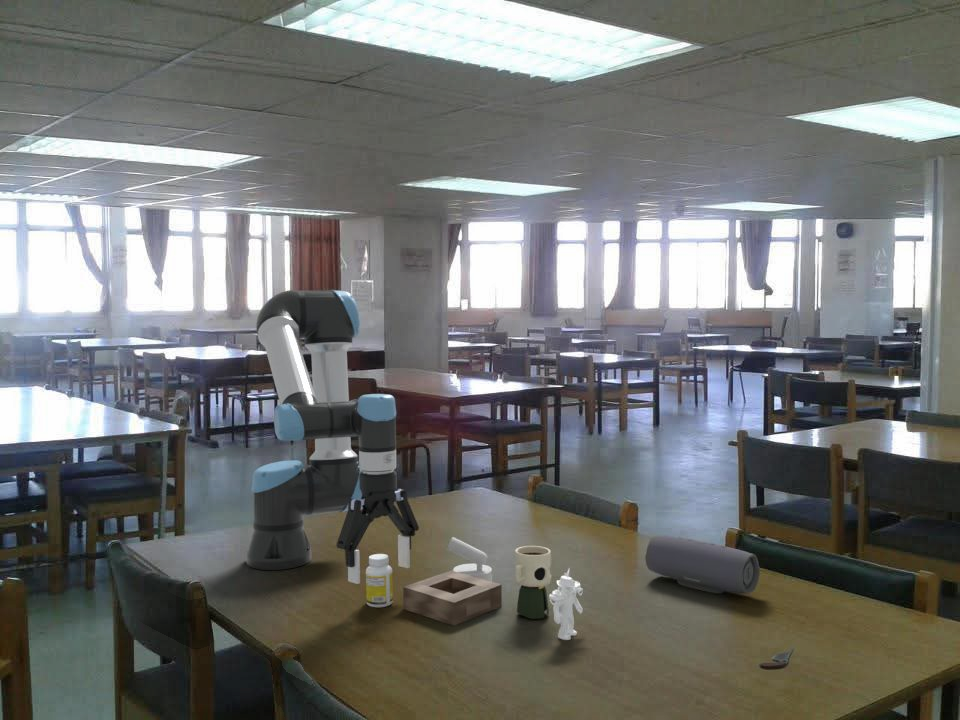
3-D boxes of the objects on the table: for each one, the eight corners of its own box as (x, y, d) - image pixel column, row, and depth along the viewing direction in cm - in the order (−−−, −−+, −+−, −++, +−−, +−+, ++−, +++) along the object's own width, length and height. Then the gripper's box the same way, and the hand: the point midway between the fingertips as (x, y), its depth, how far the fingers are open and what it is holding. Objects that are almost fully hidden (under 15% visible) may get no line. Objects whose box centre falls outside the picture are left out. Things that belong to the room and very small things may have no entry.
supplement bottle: (381, 597, 181) (381, 551, 180) (398, 603, 177) (397, 556, 176) (360, 603, 177) (360, 556, 176) (377, 610, 173) (376, 562, 173)
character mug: (532, 628, 163) (532, 560, 163) (501, 619, 168) (501, 553, 167) (563, 611, 172) (563, 547, 171) (533, 604, 176) (533, 541, 175)
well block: (403, 608, 174) (403, 586, 174) (451, 591, 184) (451, 570, 184) (454, 625, 165) (454, 602, 164) (501, 606, 175) (501, 584, 175)
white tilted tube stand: (451, 531, 196) (495, 534, 194) (451, 573, 197) (495, 575, 195) (442, 542, 188) (487, 544, 186) (442, 585, 188) (487, 588, 186)
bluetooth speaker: (760, 593, 182) (761, 547, 181) (740, 605, 175) (741, 557, 175) (666, 571, 197) (666, 528, 197) (643, 581, 191) (644, 536, 190)
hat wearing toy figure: (570, 625, 164) (570, 563, 164) (588, 630, 162) (588, 567, 161) (544, 640, 157) (544, 575, 156) (562, 645, 155) (562, 580, 154)
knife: (783, 673, 144) (783, 669, 143) (758, 669, 145) (758, 665, 145) (797, 646, 156) (797, 642, 156) (774, 642, 158) (774, 638, 158)
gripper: (341, 482, 163) (344, 593, 164) (434, 464, 182) (435, 563, 183) (316, 477, 168) (319, 585, 169) (409, 460, 187) (411, 557, 188)
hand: (379, 574), depth 176 cm, fingers open, 13 cm apart
